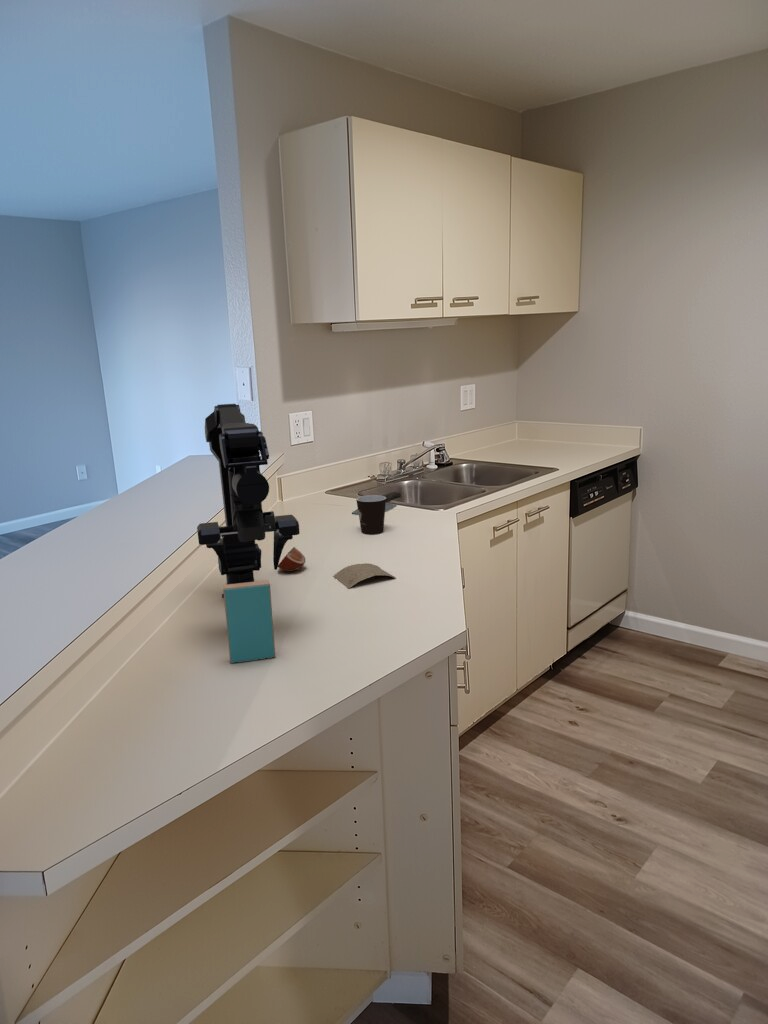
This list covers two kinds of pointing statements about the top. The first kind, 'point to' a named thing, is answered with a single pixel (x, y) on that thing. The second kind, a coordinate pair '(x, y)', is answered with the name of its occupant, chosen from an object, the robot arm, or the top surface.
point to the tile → (249, 621)
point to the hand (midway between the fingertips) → (251, 572)
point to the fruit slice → (292, 560)
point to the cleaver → (388, 498)
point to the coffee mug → (371, 513)
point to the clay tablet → (358, 573)
